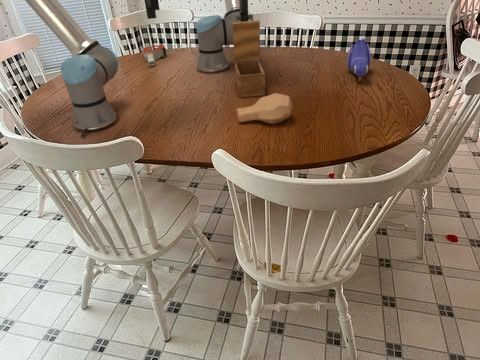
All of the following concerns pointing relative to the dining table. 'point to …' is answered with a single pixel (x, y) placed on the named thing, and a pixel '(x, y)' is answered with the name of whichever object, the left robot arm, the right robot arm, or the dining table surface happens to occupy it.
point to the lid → (246, 39)
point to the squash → (267, 109)
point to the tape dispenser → (153, 53)
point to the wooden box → (249, 78)
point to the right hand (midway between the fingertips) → (244, 29)
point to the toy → (359, 58)
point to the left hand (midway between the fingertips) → (154, 14)
